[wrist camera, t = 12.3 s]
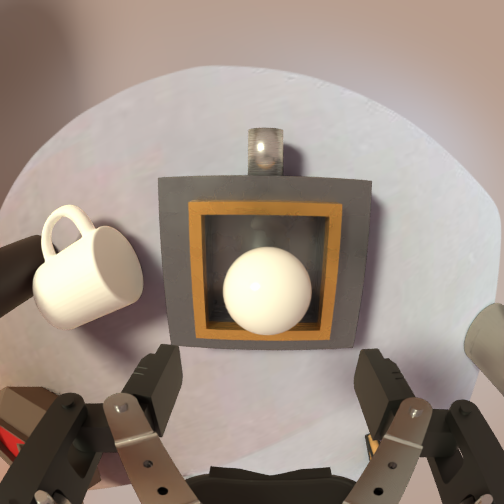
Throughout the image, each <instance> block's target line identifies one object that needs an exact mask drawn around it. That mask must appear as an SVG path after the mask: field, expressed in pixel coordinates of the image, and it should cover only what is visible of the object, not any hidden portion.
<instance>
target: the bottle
mask: <svg viewBox="0 0 504 504" xmlns="http://www.w3.org/2000/svg"><path fill="white" fill-rule="evenodd" d="M41 238H42V236H39V235H34V236H30V237H28V238H25V239H22V240H19V241H17V242H14V243H11V244H9V245H6V246H4V247H1V248H0V318H1V317H2V316H4V315H5V314H7V313H8V312H10V311H11V310H13V309H14V308H16V307H17V306H19V305H20V304H22V303H23V302H25V301H26V300H28V299H29V298H31V297H32V296H34V295H33V278H34V275H35V272H36V271H37V269H38V268H39V267H40V266H41V265H42V264H43V263H45V259H44V256H43V252H42V245H41ZM53 248H54V247H53ZM54 251H55V249H54ZM55 253H56V251H55ZM56 254H57V253H56Z"/></svg>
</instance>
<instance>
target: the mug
mask: <svg viewBox="0 0 504 504" xmlns="http://www.w3.org/2000/svg"><path fill="white" fill-rule="evenodd" d="M64 216H66V217H68V218H70V219H71V220H72V221H73V222H74V223H75V224H76V226H77V227H78V229H79V230H80V232H81V234H82V238H81V239H79V240H78V241H76V242H75V243H73V244H72V245H70V246H69V247H67V248H66V249H64V250H63V251H61V252H60V253H58V254H56V253H55V251H54V248H53V245H52V240H51V232H52V229H53V227H54V225H55V224H56V222H57V221H58V220H59V219H60V218H62V217H64ZM41 245H42V252H43V256H44V259H45V263H43V264H42V265H41V266H40V267H39V268H38V269H37V271H36V272H35V275H34V278H33V295H34V299H35V302H36V305H37V307H38V309H39V311H40V313H41V314H42V316H43V317H44V318H45V319H46V320H47V321H48V322H49V323H50V324H51V325H53V326H54V327H56V328H59V329H62V330H71V329H74V328H76V327H78V326H81V325H83V324H85V323H88V322H90V321H92V320H95V319H97V318H99V317H102V316H104V315H106V314H109V313H111V312H114V311H116V310H118V309H121V308H123V307H125V306H128V305H130V304H132V303H135V302H136V301H137V300H138V299H139V298H140V296H141V294H142V291H143V274H142V270H141V266H140V263H139V260H138V258H137V255H136V253H135V251H134V250H133V248H132V246H131V245H130V243H129V242H128V240H127V239H126V238H125V237H124V236H123V235H122V234H121V233H120V232H119V231H117V230H116V229H114V228H112V227H109V226H101V227H99V228H97V229H96V228H95V227H94V225H93V223H92V222H91V220H90V219H89V217H88V216H87V215H86V213H85V212H84V211H83V210H82V209H80V208H79V207H77V206H74V205H65V206H62V207H60V208H58V209H56V210H55V211H54V212H53V213H52V214H51V215H50V216H49V218H48V219H47V221H46V223H45V225H44V228H43V231H42V238H41Z"/></svg>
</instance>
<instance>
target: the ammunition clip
mask: <svg viewBox="0 0 504 504" xmlns="http://www.w3.org/2000/svg"><path fill="white" fill-rule="evenodd" d="M365 439H366V445H367V450H368V456H369V461H370V460H371V458H372V457H373V455H374V453H375V452H376V450H377V448H378V446H379V444H380V441H379V440H375V441H372V438H371V435H370V434H368V435H365Z"/></svg>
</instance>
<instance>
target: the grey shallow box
mask: <svg viewBox="0 0 504 504" xmlns="http://www.w3.org/2000/svg"><path fill="white" fill-rule="evenodd" d="M371 190H372V181H367V180H356V179H342V178H324V177H302V176H283V130H281V129H276V128H253V129H249V130H248V175H221V176H182V177H163V178H158V195H159V221H160V239H161V254H162V267H163V279H164V289H165V299H166V308H167V317H168V325H169V333H170V340H171V345H177V346H186V347H201V348H219V349H247V350H310V349H337V348H353V345H354V340H355V334H356V328H357V323H358V317H359V310H360V304H361V297H362V290H363V282H364V275H365V266H366V257H367V247H368V236H369V224H370V209H371ZM259 247H276V248H280V249H283V250H286V251H288V252H290V253H291V254H293V255H294V256H295V257H297V258H298V259H299V260H300V261H301V262H302V264H303V265H304V266H305V268H306V270H307V272H308V274H309V277H310V280H311V286H312V296H311V301H310V305H309V308H308V310H307V312H306V314H305V315H304V317H303V318H302V319H301V320H300V322H299V323H297V324H296V325H295V326H294V327H292V328H291V329H289V330H287V331H285V332H283V333H280V334H276V335H259V334H255V333H252V332H249V331H247V330H245V329H244V328H242V327H241V326H239V325H238V324H237V323H236V322H235V321H234V320H233V319H232V317H231V316H230V314H229V313H228V311H227V308H226V306H225V303H224V298H223V284H224V280H225V276H226V274H227V272H228V270H229V268H230V266H231V265H232V264H233V262H234V261H235V260H236V259H237V258H238V257H240V256H241V255H242V254H244V253H245V252H247V251H249V250H252V249H255V248H259Z"/></svg>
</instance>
